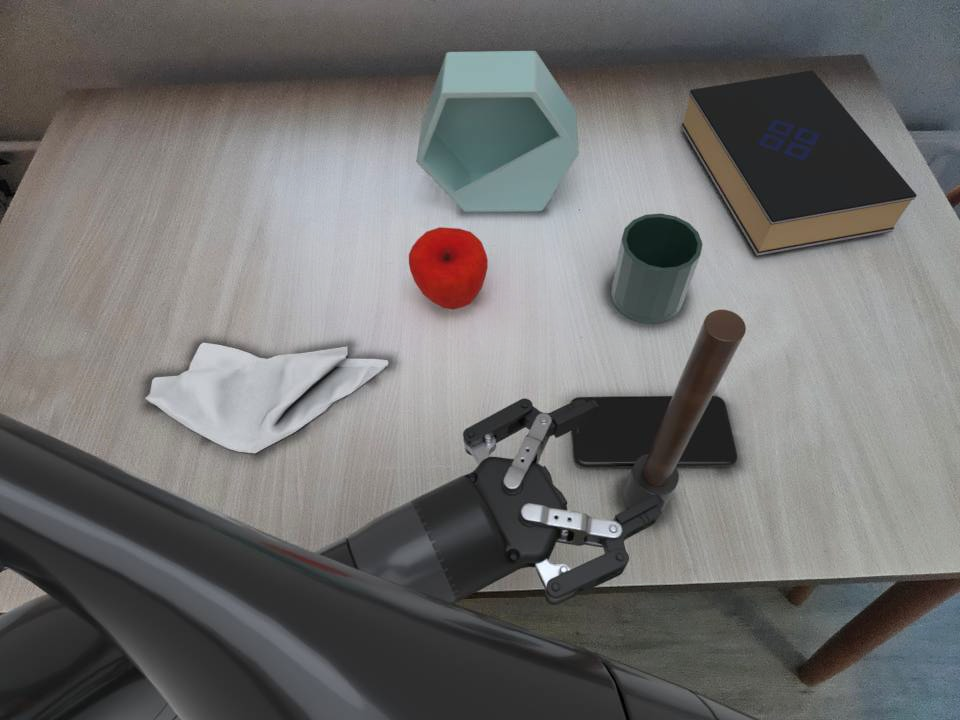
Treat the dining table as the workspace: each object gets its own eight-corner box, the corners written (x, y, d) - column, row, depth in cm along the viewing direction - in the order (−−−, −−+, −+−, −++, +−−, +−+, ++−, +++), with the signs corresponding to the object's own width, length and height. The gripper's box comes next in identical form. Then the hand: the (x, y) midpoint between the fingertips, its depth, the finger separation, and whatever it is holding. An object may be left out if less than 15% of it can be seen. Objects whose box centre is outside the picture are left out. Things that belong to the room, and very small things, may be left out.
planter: (488, 236, 87) (384, 130, 74) (490, 197, 92) (392, 89, 78) (600, 183, 79) (507, 51, 65) (597, 141, 83) (508, 9, 69)
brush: (673, 507, 61) (774, 336, 38) (638, 526, 60) (719, 363, 37) (649, 472, 63) (730, 289, 40) (614, 490, 62) (677, 314, 39)
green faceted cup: (697, 306, 74) (718, 252, 66) (637, 334, 72) (652, 282, 64) (655, 259, 78) (670, 204, 70) (597, 284, 76) (607, 230, 69)
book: (795, 112, 92) (813, 69, 86) (889, 236, 78) (917, 195, 73) (679, 131, 91) (690, 89, 85) (754, 261, 77) (772, 220, 72)
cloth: (125, 447, 67) (114, 437, 65) (170, 339, 74) (161, 327, 72) (371, 461, 65) (366, 452, 63) (392, 349, 72) (389, 337, 70)
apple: (399, 295, 76) (389, 250, 70) (452, 255, 80) (447, 208, 73) (451, 337, 73) (445, 293, 66) (505, 293, 76) (504, 247, 69)
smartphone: (722, 398, 67) (568, 399, 68) (724, 393, 66) (569, 395, 67) (738, 468, 63) (573, 469, 63) (741, 464, 62) (574, 465, 62)
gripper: (471, 641, 38) (697, 517, 41) (381, 446, 45) (580, 354, 48) (477, 661, 44) (673, 552, 47) (397, 487, 51) (572, 403, 55)
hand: (626, 452), depth 48 cm, fingers open, 8 cm apart
